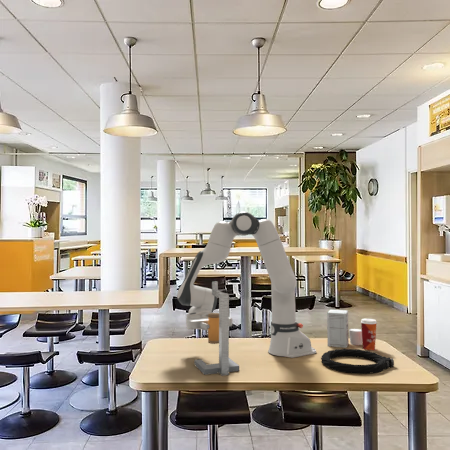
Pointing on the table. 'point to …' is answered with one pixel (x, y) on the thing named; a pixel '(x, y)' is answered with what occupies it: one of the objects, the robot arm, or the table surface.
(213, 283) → the hook stand
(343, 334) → the supplement box
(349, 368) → the cable lock
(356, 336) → the white short cylinder
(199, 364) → the grey u-shaped bracket
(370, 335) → the paper cup
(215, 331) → the orange brown canister
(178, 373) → the table surface
